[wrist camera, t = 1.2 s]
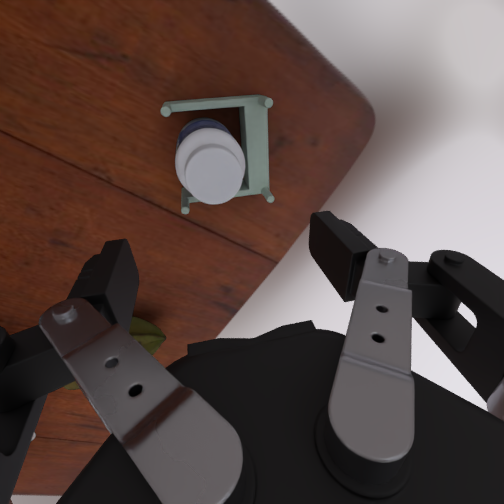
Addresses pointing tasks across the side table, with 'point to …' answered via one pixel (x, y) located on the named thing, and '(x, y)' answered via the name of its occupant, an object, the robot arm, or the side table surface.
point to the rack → (251, 139)
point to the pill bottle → (209, 161)
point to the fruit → (139, 339)
